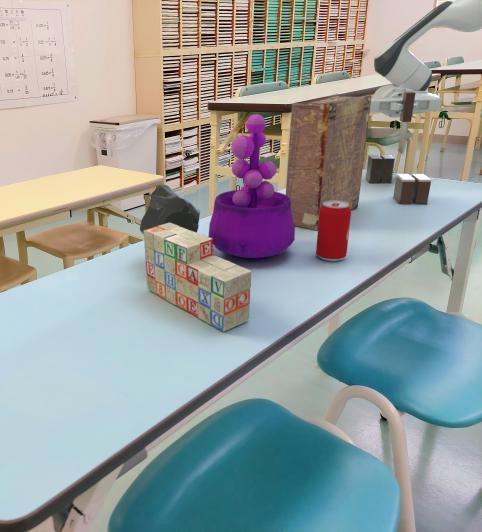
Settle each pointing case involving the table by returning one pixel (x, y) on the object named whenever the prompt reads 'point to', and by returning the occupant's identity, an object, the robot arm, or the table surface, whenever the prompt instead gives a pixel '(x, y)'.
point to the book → (325, 154)
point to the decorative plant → (252, 204)
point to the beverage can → (333, 230)
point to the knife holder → (380, 168)
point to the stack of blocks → (196, 276)
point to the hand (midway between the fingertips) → (408, 107)
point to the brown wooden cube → (412, 188)
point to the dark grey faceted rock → (169, 211)
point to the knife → (406, 118)
